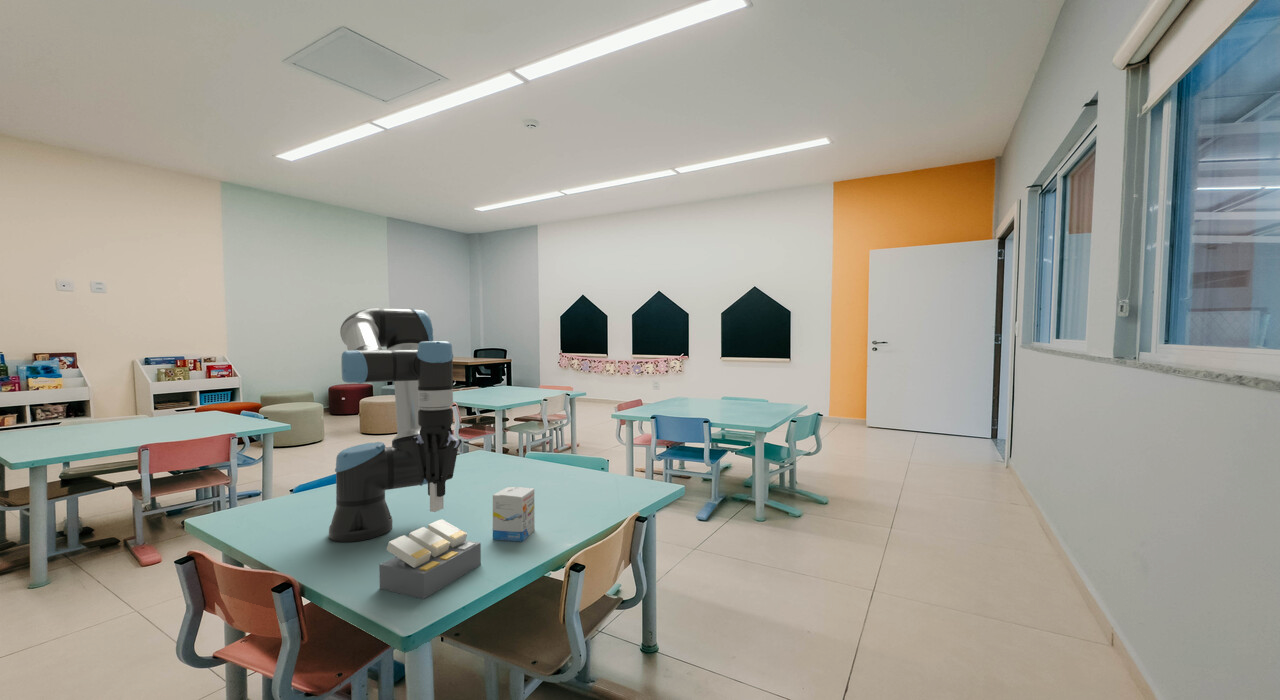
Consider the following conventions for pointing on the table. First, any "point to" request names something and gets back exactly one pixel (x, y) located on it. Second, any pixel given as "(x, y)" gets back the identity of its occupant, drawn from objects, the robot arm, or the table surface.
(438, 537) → the rocker
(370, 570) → the table surface
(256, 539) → the table surface
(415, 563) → the rocker
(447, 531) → the rocker
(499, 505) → the ink box
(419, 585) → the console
